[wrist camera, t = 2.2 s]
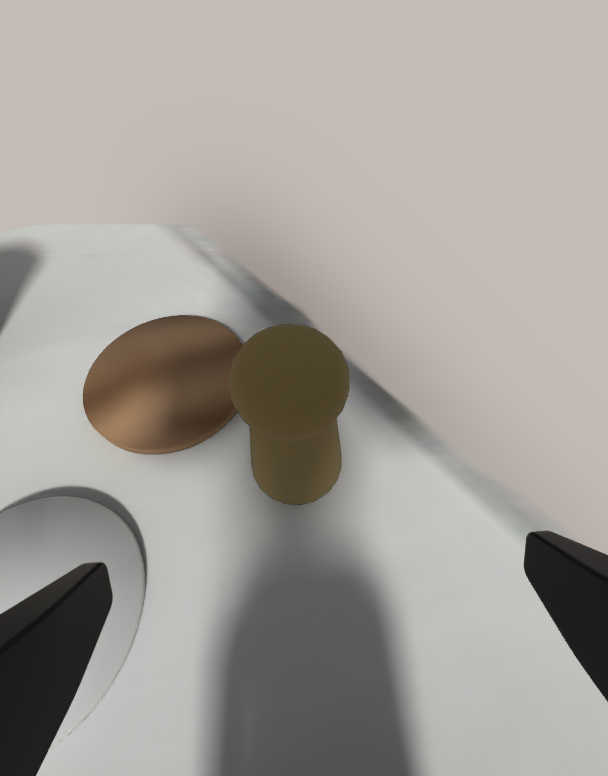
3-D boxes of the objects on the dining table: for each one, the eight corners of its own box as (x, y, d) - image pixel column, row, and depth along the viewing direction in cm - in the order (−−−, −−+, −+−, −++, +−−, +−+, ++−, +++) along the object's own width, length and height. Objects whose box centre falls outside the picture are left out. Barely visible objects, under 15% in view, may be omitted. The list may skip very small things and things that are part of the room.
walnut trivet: (278, 398, 25) (277, 391, 24) (118, 489, 22) (110, 484, 21) (209, 304, 31) (207, 296, 30) (73, 364, 27) (65, 356, 26)
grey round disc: (186, 632, 18) (181, 634, 17) (-80, 866, 14) (-105, 883, 13) (98, 463, 23) (91, 457, 22) (-120, 596, 18) (-139, 595, 18)
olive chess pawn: (233, 455, 23) (181, 352, 14) (300, 403, 25) (295, 283, 16) (291, 526, 20) (277, 460, 11) (360, 461, 22) (396, 360, 13)
